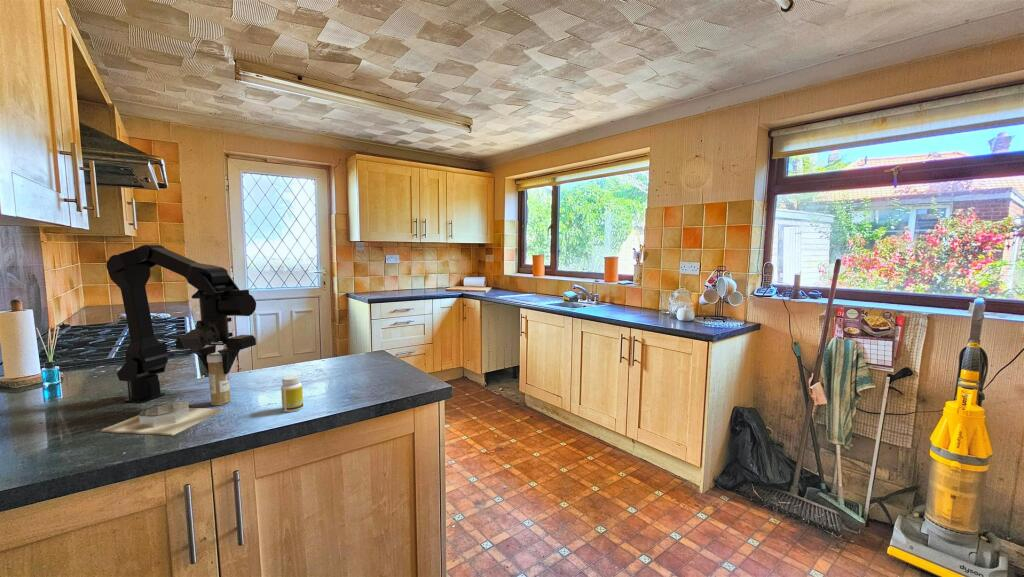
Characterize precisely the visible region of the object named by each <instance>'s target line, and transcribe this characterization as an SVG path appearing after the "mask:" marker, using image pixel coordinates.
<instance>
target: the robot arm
mask: <svg viewBox="0 0 1024 577" xmlns="http://www.w3.org/2000/svg"><path fill="white" fill-rule="evenodd" d="M105 265H106V269H107V272H108V275H109V278H110V280H111V282H113V283H114V284H115V286H117V287H118V288H119V289H120V292H121V297H122V303H123V308H124V313H125V318H126V324H127V329H128V333H129V338H130V343H129V345H128V347H127V349H126V351H125V353H124V355H125V363H124V364H123V365H122V366H121V367H120V369H119V370H118V371H117V372H116V376H117V378H118V381H119V382H127V383H126V385H127V391H128V392H127V393H128V397H127V398H124V399H123V400H122V402H126V403H127V402H128V403H146V402H149V401H151V400H154V399H157V398H159V397H161V396H164V395H166V392H163V391H162V392H161V384H160V383H161V382H160V380H159V375H158V374H161V373H162V374H163V373H165V371H166V367H167V364H168V360H169V357H170V355H169V352H168V347H167V343H166V342H160V341H159V340H158V339H157V338H156V335H155V331H154V326H153V320H152V319H153V318H152V315H151V310H150V305H149V300H148V295H147V289H146V285H147V284H148V281H149V280H150V278H151V269H152V268H154V267H157V266H160V267H161V268H164V269H167V270H168V271H170V272H172V273H175V274H177V275H179V276H182V277H184V278H185V280H186V282H187V283H188V284H189V285H191V286H192V287H194V288H195V289H197V291H196V292H195V293H193V294H192V295H191V299H196V300H197V299H199V300H198V301H199V303H198V304H199V310H200V311H199V312H200V320H196V323H195V325H196V326H195V328H194V329H191V330H190V331H188V332H187V333H185V334H184V335H182V336H179V337H177V339H176V340H175V348H176V349H181V350H182V349H183V350H186V351H189V353H193V354H195V355H196V356H198V358H199V359H200V360H201V362H202V364H203V366H204V368H205V370H206V371H207V373H208V374H209V368H208V362H207V355H208V354H211V353H217V352H219V353H220V354H221V355H222V362H223V370H224V374H228V373H230V372H231V369H232V367H233V364H234V362H235V360H236V358H237V356H238V355H239V353H240V351H241V350H245V349H248V348H250V347H254V346H256V345H257V340H256V337H255V336H254V335H253V334H239V335H236V336H234V334H233V332H229V331H230V330H229V323H230V322H232V317H250V316H252V315H253V314H254V313H255V311H256V308H257V300H255V297H254V296H253V295H252V294H250V290H249V289H240V288H239V287H238V285H237V284H236V283H235V282H234V280H233V279H232V277H231V276H230V275H229V274H228V270H227V269H226V268H225V267H222V266H217V265H213V264H207V263H200V262H197V261H195V260H192V259H190V258H188V257H185V256H183V255H181V254H179V253H177V252H174V251H172V250H170V249H168V248H166V247H165V246H164V245H161V244H143V245H139V246H138V247H136V248H134V249H131V250H127V251H124V252H121V253H118V254H113V255H111V256H110V257H109V259H108V260H107V261H106V264H105ZM217 346H223V348H222V349H218V350H217Z"/></svg>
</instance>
